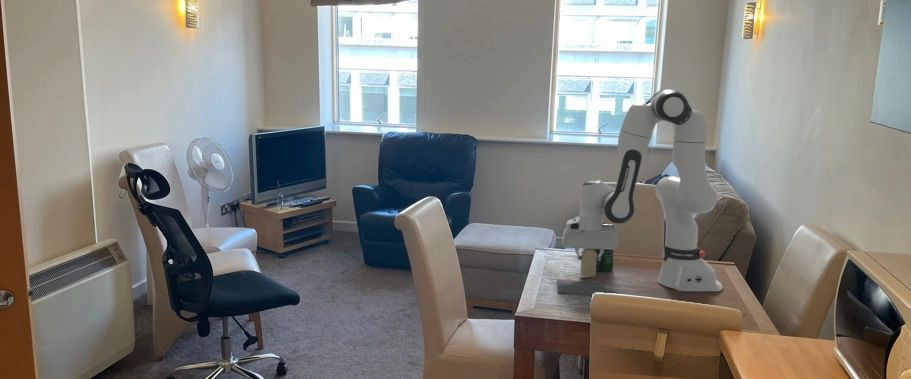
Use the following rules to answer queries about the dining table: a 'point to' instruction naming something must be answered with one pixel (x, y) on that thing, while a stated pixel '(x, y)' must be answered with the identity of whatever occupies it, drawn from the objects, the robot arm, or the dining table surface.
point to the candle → (588, 263)
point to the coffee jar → (604, 259)
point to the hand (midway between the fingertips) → (588, 259)
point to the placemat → (579, 287)
